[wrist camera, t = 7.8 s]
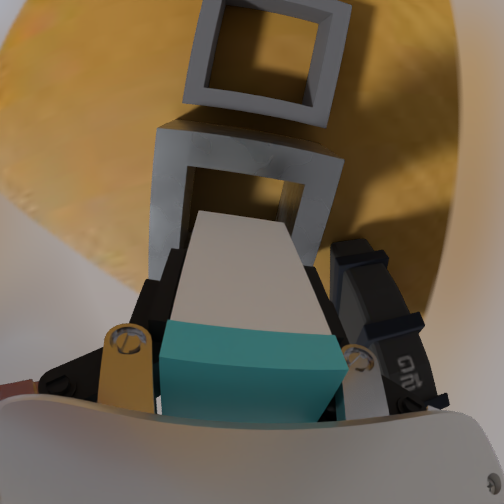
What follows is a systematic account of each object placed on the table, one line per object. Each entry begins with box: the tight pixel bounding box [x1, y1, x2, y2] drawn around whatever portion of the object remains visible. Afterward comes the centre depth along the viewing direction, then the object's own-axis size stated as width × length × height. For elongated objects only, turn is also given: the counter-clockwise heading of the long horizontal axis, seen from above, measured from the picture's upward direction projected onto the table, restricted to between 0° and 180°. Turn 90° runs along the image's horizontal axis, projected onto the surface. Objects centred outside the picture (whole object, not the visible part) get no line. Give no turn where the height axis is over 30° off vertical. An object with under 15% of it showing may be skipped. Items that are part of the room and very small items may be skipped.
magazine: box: [330, 238, 450, 410], centre depth 21 cm, size 4×13×15 cm, turn 8°
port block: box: [149, 119, 345, 281], centre depth 18 cm, size 10×10×5 cm
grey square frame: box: [182, 0, 352, 128], centre depth 14 cm, size 8×8×3 cm
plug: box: [159, 211, 349, 423], centre depth 11 cm, size 4×4×9 cm
